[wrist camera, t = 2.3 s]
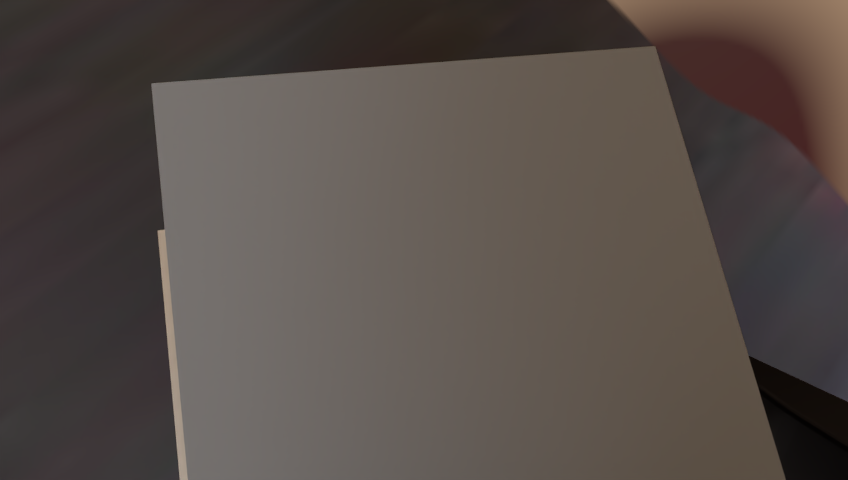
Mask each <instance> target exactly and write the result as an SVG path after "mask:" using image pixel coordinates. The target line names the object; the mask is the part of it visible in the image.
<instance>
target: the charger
mask: <svg viewBox="0 0 848 480" xmlns="http://www.w3.org/2000/svg"><path fill="white" fill-rule="evenodd" d="M151 85H152V96H153V107H154V118H155V128H156V139H157V150H158V161H159V172H160V183H161V194H162V204H163V215H164V226H165V237H166V248H167V259H168V270H169V280H170V291H171V302H172V313H173V324H174V335H175V346H176V356H177V367H178V378H179V389H180V400H181V411H182V422H183V432H184V443H185V454H186V465H187V476H188V480H786V479H785V475H784V472H783V469H782V465H781V462H780V459H779V455H778V452H777V449H776V445H775V442H774V439H773V436H772V432H771V429H770V426H769V422H768V419H767V416H766V412H765V409H764V406H763V402H762V399H761V396H760V392H759V389H758V386H757V382H756V379H755V376H754V372H753V369H752V366H751V363H750V359H749V356H748V353H747V349H746V346H745V343H744V339H743V336H742V333H741V329H740V326H739V323H738V319H737V316H736V313H735V309H734V306H733V303H732V299H731V296H730V293H729V290H728V286H727V283H726V280H725V276H724V273H723V270H722V266H721V263H720V260H719V256H718V253H717V250H716V246H715V243H714V240H713V236H712V233H711V230H710V226H709V223H708V220H707V217H706V213H705V210H704V207H703V203H702V200H701V197H700V193H699V190H698V187H697V183H696V180H695V177H694V173H693V170H692V167H691V163H690V160H689V157H688V153H687V150H686V147H685V144H684V140H683V137H682V134H681V130H680V127H679V124H678V120H677V117H676V114H675V110H674V107H673V104H672V100H671V97H670V94H669V90H668V87H667V84H666V80H665V77H664V74H663V70H662V67H661V64H660V61H659V57H658V54H657V51H656V47H655V46H649V47H636V48H622V49H609V50H595V51H582V52H568V53H555V54H542V55H528V56H515V57H501V58H488V59H474V60H461V61H447V62H434V63H421V64H407V65H394V66H380V67H367V68H353V69H340V70H326V71H313V72H300V73H286V74H273V75H259V76H246V77H232V78H219V79H206V80H192V81H179V82H165V83H152V84H151Z"/></svg>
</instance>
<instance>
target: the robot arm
mask: <svg viewBox="0 0 848 480" xmlns="http://www.w3.org/2000/svg"><path fill="white" fill-rule="evenodd" d="M749 359H750V363H751V366H752V369H753V372H754V376H755V379H756V382H757V386H758V389H759V392H760V396H761V399H762V402H763V406H764V409H765V412H766V416H767V419H768V422H769V426H770V429H771V432H772V436H773V439H774V442H775V445H776V449H777V452H778V455H779V459H780V462H781V465H782V469H783V472H784V475H785V479H786V480H848V402H847V401H845V400H842V399H840V398H838V397H836V396H834V395H832V394H830V393H827V392H825V391H823V390H821V389H819V388H817V387H815V386H812V385H810V384H808V383H806V382H804V381H802V380H800V379H798V378H795V377H793V376H791V375H789V374H787V373H785V372H783V371H780V370H778V369H776V368H774V367H772V366H770V365H768V364H765V363H763V362H761V361H759V360H757V359H755V358H753V357H750V356H749Z"/></svg>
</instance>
